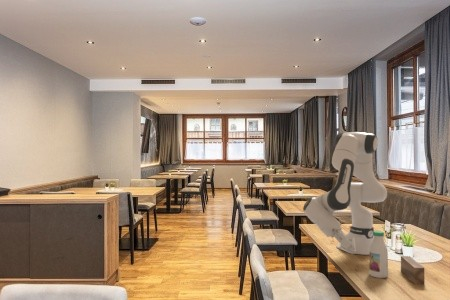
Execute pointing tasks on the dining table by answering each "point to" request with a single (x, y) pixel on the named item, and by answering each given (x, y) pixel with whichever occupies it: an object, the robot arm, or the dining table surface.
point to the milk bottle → (378, 256)
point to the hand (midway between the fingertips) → (353, 249)
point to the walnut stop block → (412, 270)
